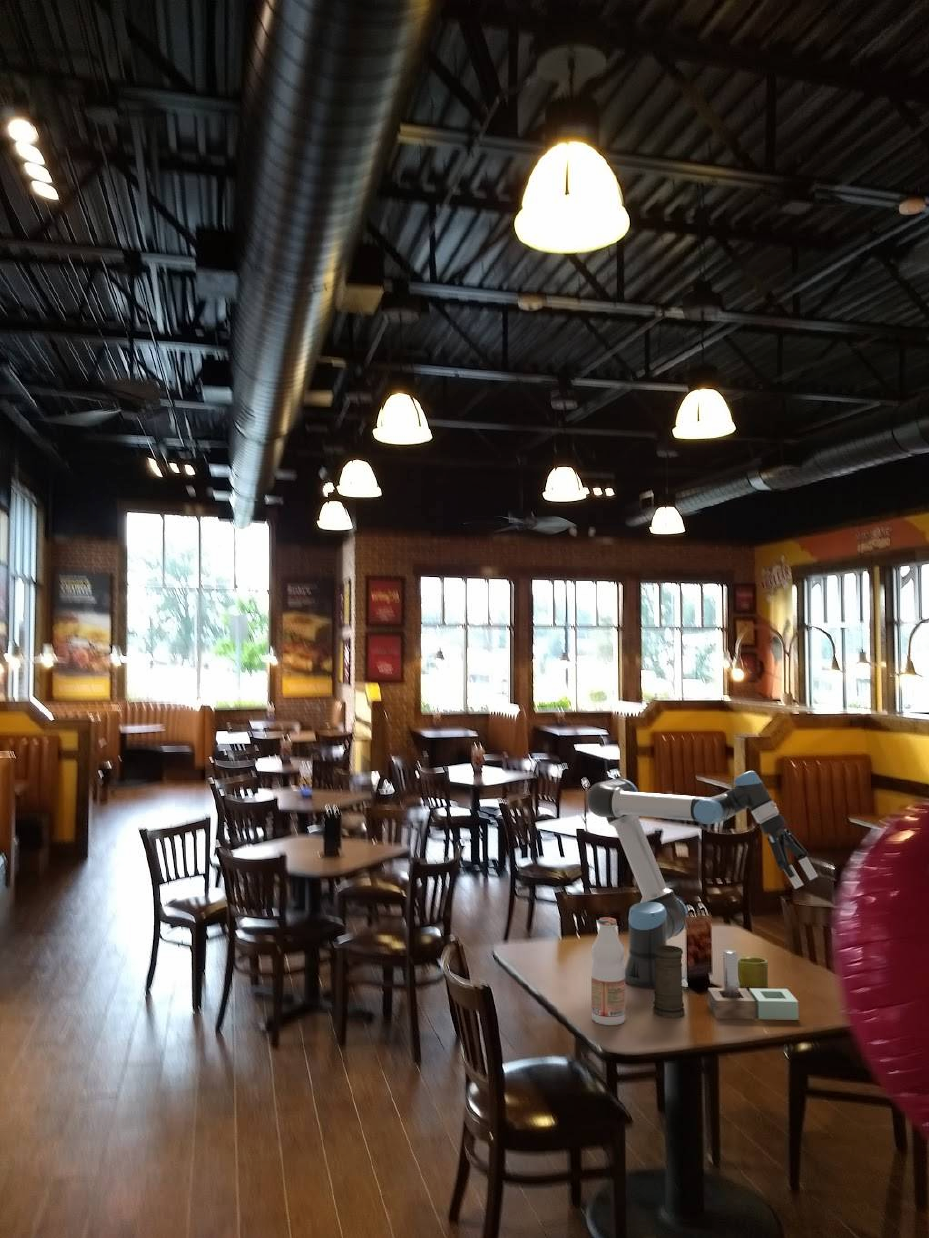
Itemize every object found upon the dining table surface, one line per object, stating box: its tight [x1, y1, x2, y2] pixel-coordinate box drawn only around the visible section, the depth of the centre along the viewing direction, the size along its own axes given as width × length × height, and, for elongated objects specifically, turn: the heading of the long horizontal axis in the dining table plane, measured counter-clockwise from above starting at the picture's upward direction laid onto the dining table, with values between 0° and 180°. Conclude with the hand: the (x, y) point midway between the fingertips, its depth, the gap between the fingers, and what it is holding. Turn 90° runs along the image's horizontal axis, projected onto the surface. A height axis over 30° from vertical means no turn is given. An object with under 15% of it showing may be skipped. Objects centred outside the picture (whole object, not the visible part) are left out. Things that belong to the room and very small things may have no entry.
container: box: [652, 944, 685, 1019], centre depth 282 cm, size 9×9×18 cm
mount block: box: [707, 987, 756, 1020], centre depth 282 cm, size 11×11×5 cm
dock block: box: [748, 988, 800, 1021], centre depth 281 cm, size 11×11×5 cm
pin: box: [722, 949, 739, 998], centre depth 282 cm, size 4×4×17 cm
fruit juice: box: [590, 916, 626, 1026], centre depth 276 cm, size 9×9×28 cm
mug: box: [738, 956, 769, 990], centre depth 306 cm, size 12×10×10 cm
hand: (806, 882), depth 295 cm, fingers open, 13 cm apart
